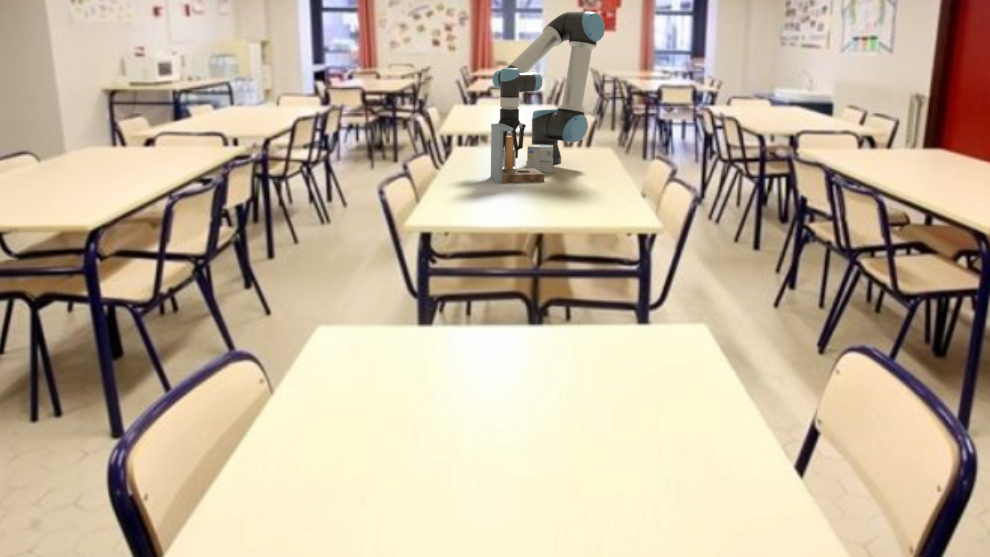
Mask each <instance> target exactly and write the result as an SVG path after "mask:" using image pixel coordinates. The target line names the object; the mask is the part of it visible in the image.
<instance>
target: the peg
mask: <svg viewBox="0 0 990 557" xmlns="http://www.w3.org/2000/svg"><path fill="white" fill-rule="evenodd" d="M513 150H514V145H513V137H512V135H510V136H509V135H506V140H505V146H504V151H506V155H505V167H503V169H514V167H513Z"/></svg>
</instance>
